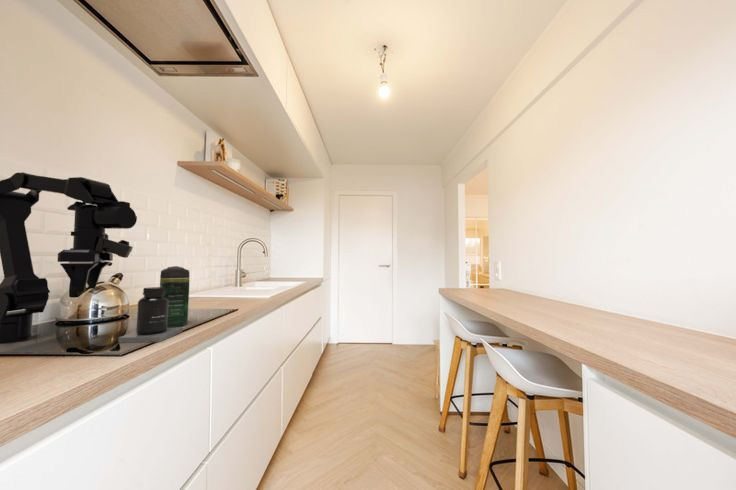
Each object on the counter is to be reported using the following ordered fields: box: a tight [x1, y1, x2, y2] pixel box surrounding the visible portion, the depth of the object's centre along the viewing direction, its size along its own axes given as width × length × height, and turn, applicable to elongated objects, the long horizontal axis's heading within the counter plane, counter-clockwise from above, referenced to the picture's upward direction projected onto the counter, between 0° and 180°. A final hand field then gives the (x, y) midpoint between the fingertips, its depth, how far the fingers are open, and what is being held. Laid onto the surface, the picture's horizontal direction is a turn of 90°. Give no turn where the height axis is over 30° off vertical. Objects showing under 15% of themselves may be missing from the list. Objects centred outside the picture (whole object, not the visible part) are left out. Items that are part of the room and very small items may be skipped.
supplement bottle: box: [135, 286, 169, 335], centre depth 79 cm, size 7×7×12 cm
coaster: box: [117, 327, 184, 343], centre depth 78 cm, size 10×10×1 cm
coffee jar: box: [159, 265, 190, 328], centre depth 93 cm, size 10×8×19 cm
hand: (87, 290), depth 73 cm, fingers open, 9 cm apart
